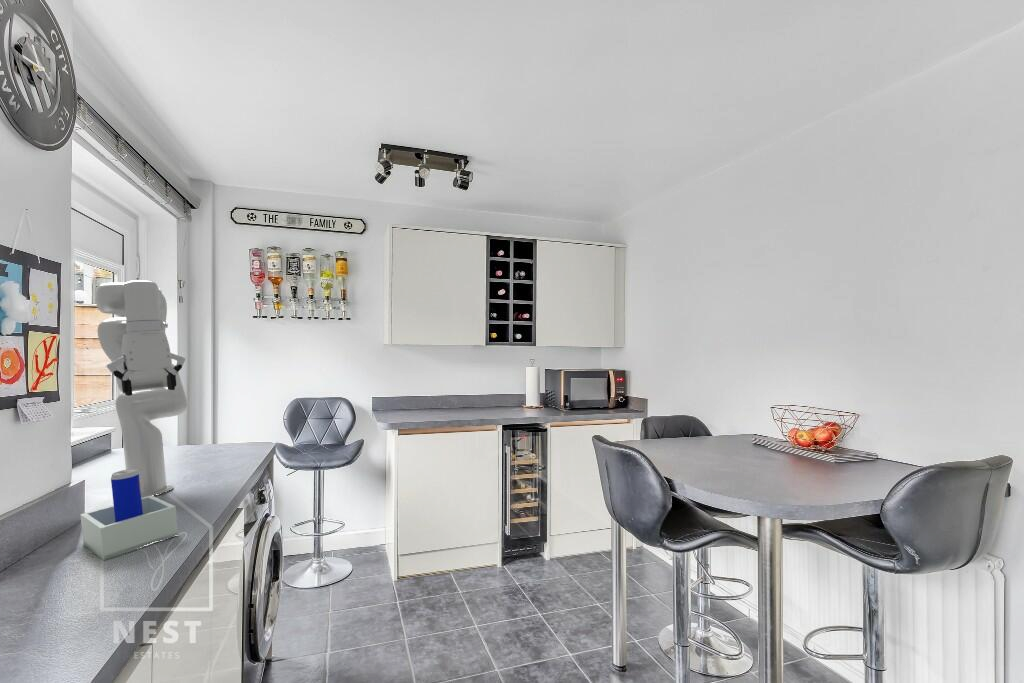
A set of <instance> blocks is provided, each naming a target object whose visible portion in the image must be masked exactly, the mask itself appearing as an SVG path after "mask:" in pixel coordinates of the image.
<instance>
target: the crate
mask: <svg viewBox="0 0 1024 683" xmlns="http://www.w3.org/2000/svg"><path fill="white" fill-rule="evenodd" d="M141 500H142V510H143V515H140V516H137V517H133V518H130V519H127V520H123V521H120V522H116V523H115V513H114V505H110V506H106V507H103V508H99V509H96V510H91V511H88V512H85V513H80V515H79V516H80V523H81V524H80V526H81V533H82V545H84V546H85V547H86V548H87V549H89V550H90V551H91V552H93V553H94V554H95V555H96V556H97V557H99V558H100V559H101V560H102V561H108V560H110V559H113V558H116V557H119V556H122V555H125V553H126V554H128V552H129V553H131V551H132V552H134V551H133V550H135V549H137V548H140V547H143V546H144V545H147V544H150V543H152V542H155V541H160V540H164V539H167V538H171V537H173V536H175V535H179V527H178V526H179V525H178V517H177V516H178V515H177V506H175V505H173V504H171V503H169V502H167V501H166V500H165V501H164V500H162V499H161V498H158V497H157V496H152V495H151V496H147V497H143V498H141ZM171 539H172V538H171ZM135 551H136V550H135Z"/></svg>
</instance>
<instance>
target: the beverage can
mask: <svg viewBox="0 0 1024 683" xmlns="http://www.w3.org/2000/svg"><path fill="white" fill-rule="evenodd" d="M110 484H111V491H112V500H113V502H112V504H113V506H114V513H115V523H116V522H120V521H123V520H127V519H130V518H133V517H137V516H140V515H143V510H142V500H141V490H140V480H139V473H138V471H137V469H128V470H126V469H123V470H119V471H115V472H113V473H112V474H111V477H110Z"/></svg>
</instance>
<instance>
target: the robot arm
mask: <svg viewBox="0 0 1024 683" xmlns="http://www.w3.org/2000/svg"><path fill="white" fill-rule="evenodd" d="M95 304H96V307H97V309H98V310H99V311H100V312H101V313H103V314H109V315H116V316H117V317H111V318H107V319H104V320H103V321H101V322H100V323H99V325H98V326H97V330H96V331H97V336H98V342H99V344H100V346H101V349H102V351H103V352H104V353H105V355H106V356H107V357H108V359H109V360H110V362H108V363H107V364H106V368H107V369H108V370H109V372H111V374H112V375H113V376H114V377H115V379H116V380H115V381H116V384H117V387H118V389H119V391H120V392H121V393H120V394H119V395H118V396H117V398H116V400H115V409H116V413H117V417H118V420H119V424H120V428H121V436H122V445H123V453H124V454H123V456H124V463H125V465H124V466H125V470H128V469H137V471H138V473H139V480H140V490H141V498H143V497H147V496H151V495H156V494H160V493H163V492H166V493H168V492H170V491H172V490H173V488H174V485H173V483H171V482H167V476H166V475H167V474H166V466H165V455H164V454H165V453H164V444H163V435H162V431H161V430H160V428H158V427H157V425H156V426H155V425H154V424H153V423H151V421H152V420H157V419H164V418H170V417H176V416H180V415H182V414H184V413H185V411H186V410H187V407H188V406H187V405H188V401H187V396H186V392H185V389H184V385H183V383H182V379H181V376H180V373H179V372H180V371H181V370H182V368H183V365H184V363H185V362H186V358H185V357H183V356H181V355H178V354H174V353H172V352H171V349H170V348H171V347H170V344H169V340H168V337H167V334H166V328H168V326H169V324H168V323H167V315H168V303H167V299H166V297H165V296H164V294H163V293H162V290H161V289H160V288H159V286H158V284H157V283H156V282H155V281H152V280H151V281H150V280H130V281H126V282H107V283H106V282H105V283H101V284H99V285H98V286H97V288H96V292H95ZM173 360H174V361H176V364H174V363H172V361H173ZM169 490H170V491H169ZM167 491H168V492H167ZM163 494H164V493H163Z"/></svg>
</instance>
